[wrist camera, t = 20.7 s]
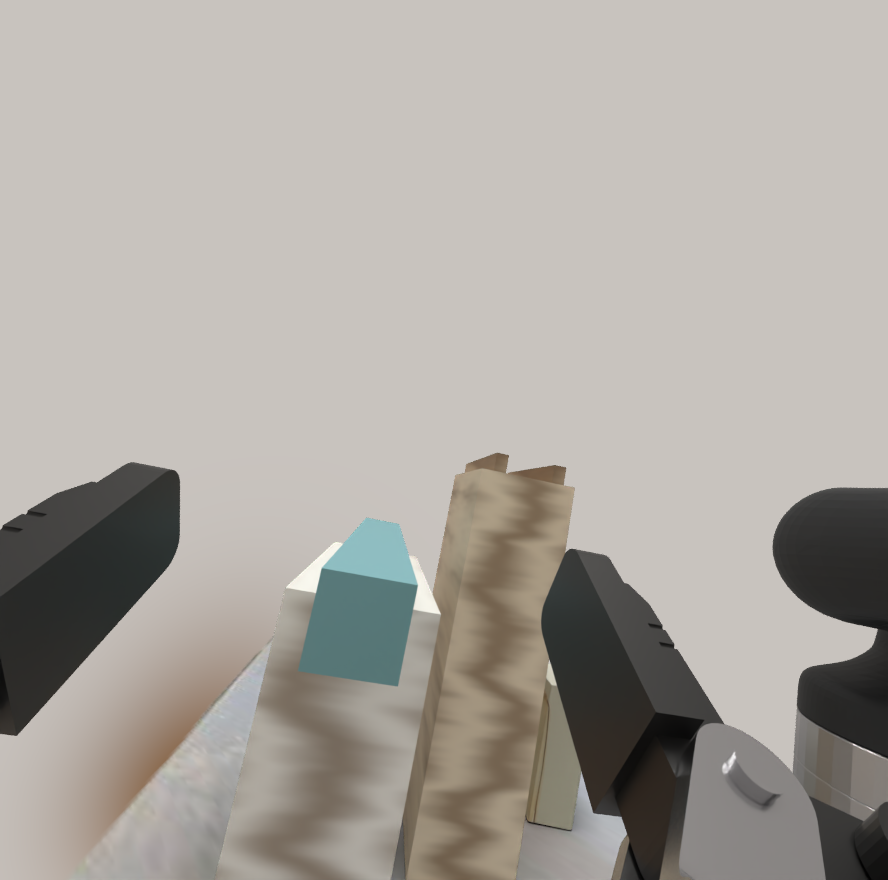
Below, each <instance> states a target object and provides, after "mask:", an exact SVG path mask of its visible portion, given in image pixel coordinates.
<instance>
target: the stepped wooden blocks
mask: <svg viewBox="0 0 888 880" xmlns="http://www.w3.org/2000/svg"><path fill="white" fill-rule="evenodd" d="M508 457H509V455H505V454H500V453H495V454H493V455H490V456H487V457H485V458H482V459H479V460H476V461H473V462H471V463H468V464H466V469H465V473H462V474H458V475H456V476H455V480H454V485H453V491H452V496H451V502H450V506H449V511H448V517H447V522H446V527H445V532H444V537H443V542H442V548H441V553H440V558H439V563H438V568H437V573H436V579H435V584H434V589H433V594H432V592H431V590H430V588H429V586H428V583H427V581H426V578H425V576H424V574H423V571H422V569H421V567H420V564H419V562H418V559H417V557H414V556H409V558H410V561H411V564H412V567H413V571H414V574H415V577H416V580H417V583H418V588H417V593H416V598H415V603H414V608H413V613H412V618H411V623H410V628H409V633H408V638H407V643H406V648H405V653H404V658H403V663H402V668H401V674H400V679H399V684H398V687H397V686H391V685H384V684H378V683H371V682H365V681H358V680H352V679H345V678H339V677H332V676H326V675H319V674H313V673H306V672H299V671H298V668H299V664H300V659H301V655H302V651H303V646H304V642H305V638H306V633H307V629H308V625H309V621H310V616H311V612H312V608H313V603H314V599H315V595H316V590H317V586H318V582H319V577H320V573H321V569H322V567H323V566H324V565H325V564H326V563H327V561H328V560H329V559H330V558H331V557H332V556H333V555H334V554H335V553H336V551H337V550H338V549H339V548H340V547H341V546H342V545H343V544H344V543H339V542H334V543H333V544H332V545H331V546H330V547H329V548H328V549H327V550H326V551H325V552H324V553H323V554H322V555H320V556H319V557H318V558H317V559H316V560H315V561H314V562H313V563H312V564H311V565H309V566H308V568H306V569H305V570H304V571H303V572H302V573H301V574H300V575H299V576H298V577H296V578H295V579H294V580H293V581H292V582H291V583H290V584H289V585H288V586H287V587H286V588H285V591H284V595H283V600H282V604H281V608H280V612H279V616H278V620H277V624H276V628H275V632H274V637H273V641H272V645H271V649H270V653H269V657H268V661H267V665H266V670H265V674H264V678H263V682H262V686H261V690H260V694H259V698H258V703H257V707H256V711H255V715H254V719H253V723H252V727H251V731H250V735H249V740H248V744H247V748H246V752H245V756H244V760H243V764H242V768H241V773H240V777H239V781H238V785H237V789H236V793H235V797H234V801H233V806H232V810H231V814H230V818H229V822H228V826H227V830H226V834H225V838H224V843H223V847H222V851H221V855H220V859H219V863H218V867H217V871H216V876H215V880H391V876H392V871H393V865H394V860H395V855H396V849H397V844H398V839H399V834H400V828H401V823H402V818H403V830H404V853H405V876H406V880H516V874H517V867H518V861H519V854H520V847H521V841H522V834H523V828H524V821H525V814H526V808H527V801H528V794H529V788H530V781H531V775H532V768H533V761H534V755H535V748H536V742H537V735H538V728H539V722H540V715H541V708H542V702H543V695H544V689H545V682H546V675H547V669H548V662H549V656H548V653H547V649H546V646H545V642H544V639H543V635H542V629H541V615H542V609H543V605H544V602H545V600H546V597H547V595H548V593H549V590H550V588H551V585H552V583H553V581H554V578H555V576H556V573H557V571H558V569H559V566H560V564H561V561H562V559H563V557H564V555H565V550H566V543H567V536H568V530H569V523H570V516H571V510H572V503H573V496H574V490H575V488H574V487H569V486H564V478H565V472H566V467H561V466H556V465H553V466H547V467H541V468H535V469H528V470H523V471H516V472H510V473H508V474H506V469H507V463H508Z"/></svg>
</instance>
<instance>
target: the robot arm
mask: <svg viewBox="0 0 888 880" xmlns="http://www.w3.org/2000/svg"><path fill="white" fill-rule="evenodd" d="M179 535H180V479H179V475H178V474H177V472H176V471H174V470H170V469H165V468H160V467H155V466H149V465H144V464H139V463H134V462H133V463H132V462H131V463H128V464H126V465H124V466H122V467H121V468H119V469H118V470H116V471H114V472H113V473H111V474H110V475H108V476H107V477H105V478H103V479H102V480H100V481H99V482H97V483H96V482H90V483H87V484H84V485H81V486H77V487H74V488H71V489H69V490H65V491H63V492H59V493H57V494H55V495H53V496H52V497H50V498H48V499H46V500H45V501H43V502H41V503H40V504H38V505H36V506H35V507H33V508H31V509H30V510H28V512H27V514H26V515H25V514H21V515H19V516H18V517H16V518H14V519H13V520H11V521H10V522H8V523H6V524H4V525H3V527H2V529H1V530H0V734H7V735H14V736H17V735H18V734H19V733H20V732H21V731H22V729H23V728H24V727H25V726H26V725H27V724H28V723H29V722H30V720H31V719H32V718H33V717H34V716H35V715H36V714H37V713H38V712H39V710H40V709H41V708H42V707H43V706H44V705H45V704H46V703H47V701H48V700H49V699H50V698H51V697H52V696H53V695H54V694H55V693H56V692H57V690H58V689H59V688H60V687H61V686H62V685H63V684H64V683H65V681H66V680H67V679H68V678H69V677H70V676H71V675H72V674H73V673H74V671H75V670H76V669H77V668H78V667H79V666H80V664H82V662H83V661H84V660H85V659H86V658H87V657H88V656H89V655H90V653H91V652H92V651H93V650H94V649H95V648H96V647H97V645H99V644H100V642H101V641H102V640H103V639H104V638H105V637H106V635H108V633H109V632H110V631H111V630H112V629H113V628H114V627H115V626H116V625H117V623H118V622H119V621H120V620H121V619H122V618H123V617H124V616H125V615H126V613H127V612H128V611H129V610H130V609H131V608H132V607H133V605H134V604H135V603H136V602H137V601H138V600H139V599H140V598H141V597H142V595H143V594H144V593H145V592H146V591H147V590H148V589H149V588H150V587H151V585H152V584H153V583H154V582H155V581H156V580H157V579H158V578H159V577H160V575H161V574H162V573H163V572H164V571H165V569H166V568H167V567H168V566H169V564H170V563H171V561H172V559H173V557H174V555H175V553H176V550H177V547H178V543H179ZM773 556H774V560H775V563H776V567H777V569H778V571H779V573H780V575H781V577H782V579H783V580H784V582H785V583H786V585H787V586H788V587H789V588H790V589H791V591H792V592H793V593H794V594H795V595H796V596H797V597H798V598H799V599H801V600H802V601H803V602H805V603H806V604H807V605H808V606H810V607H812V608H814V609H815V610H817V611H819V612H821V613H823V614H825V615H827V616H830V617H833V618H836V619H838V620H841V621H844V622H848V623H853V624H857V625H863V626H867V627H872V628H877V629H878V632H877V635H876V638H875V641H874V644H873V646H872V648H870V649H869V650H868V651H866V652H865V653H863V654H861V655H859V656H858V657H856V658H853V659H851V660H847V661H843V662H838V663H832V664H824V665H817V666H812V667H809V668H807V669H806V670H804V671H803V672H802V674H801V676H800V679H799V684H798V697H797V715H796V730H795V745H794V762H793V773H792V772H791V771H790V769H788V767H787V766H786V765H785V764H784V763H783V762H782V761H781V760H780V759H779V758H778V757H777V756H776V755H775V754H774V753H773V752H771V751H770V750H769V749H768V748H767V747H765V746H764V745H763V744H761V743H760V742H759V741H757V740H756V739H754V738H753V737H751V736H750V735H748V734H746V733H744V732H743V731H740V730H738V729H736V728H734V727H731V726H728V725H725V724H724V723H723V721H722V720H721V718H720V717H719V715H718V713H717V712H716V710H715V708H714V707H713V705H712V704H711V702H710V701H709V699H708V697H707V696H706V694H705V692H704V691H703V690H702V688H701V686H700V684H699V683H698V681H697V680H696V678H695V677H694V675H693V674H692V672H691V670H690V669H689V667H688V665H687V664H686V662H685V661H684V659H683V657H682V656H681V654H680V653H679V651H678V650H677V649H674V643H673V642H672V640H671V639H670V637H669V636H668V634H667V632H666V631H665V630H663V629H662V624H661V622H660V621H659V619H658V618H657V616H656V614H655V613H654V611H653V610H652V608H651V606H650V605H649V604H648V603H647V602H646V601H645V600H644V599H643V598H642V597H641V596H640V595H639V594H638V593H637V592H636V591H635V590H634V589H633V588H632V587H631V586H630V585H629V584H626V583H624V582H623V581H622V579H621V577H620V576H619V574H618V572H617V570H616V569H615V567H614V566H613V564H612V562H611V560H610V559H609V558H608V557H607V556H605V555H602V554H596V553H591V552H586V551H581V550H576V549H569V550H568V551H567V552H566V553H565V555H564V557H563V559H562V561H561V564H560V566H559V569H558V571H557V573H556V576H555V578H554V581H553V583H552V585H551V588H550V590H549V593H548V595H547V597H546V600H545V602H544V605H543V609H542V615H541V629H542V635H543V639H544V642H545V646H546V649H547V653H548V656H549V660H550V663H551V667H552V670H553V674H554V677H555V681H556V684H557V688H558V691H559V695H560V698H561V702H562V705H563V709H564V712H565V716H566V719H567V722H568V726H569V729H570V733H571V736H572V740H573V743H574V747H575V750H576V754H577V757H578V761H579V764H580V768H581V771H582V775H583V778H584V782H585V785H586V789H587V792H588V796H589V799H590V803H591V806H592V810H593V813H596V814H604V815H612V816H620V817H622V820H623V823H624V826H625V829H626V832H627V835H626V837H625V838H624V840H623V841H622V843H621V846H620V848H619V852H618V856H617V859H616V863H615V867H614V871H613V875H612V878H611V880H888V488H832V489H826V490H823V491H819V492H817V493H814V494H811V495H809V496H807V497H806V498H804V499H802V500H800V501H799V502H798V503H796V504H795V505H794V506H793V507H792V508H791V509H790V510H789V511H788V512H787V513H786V514H785V515H784V516H783V518H782V519H781V521H780V522H779V524H778V526H777V529H776V531H775V534H774V539H773Z"/></svg>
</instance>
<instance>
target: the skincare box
mask: <svg viewBox="0 0 888 880" xmlns="http://www.w3.org/2000/svg"><path fill="white" fill-rule="evenodd" d="M580 775H581V768H580V764H579V761H578V757H577V754H576V750H575V747H574V743H573V740H572V736H571V733H570V729H569V726H568V722H567V719H566V716H565V712H564V709H563V705H562V702H561V698H560V695H559V691H558V688H557V684H556V681H555V677H554V674H553V670H552V667H551V663H548V669H547V675H546V682H545V689H544V695H543V702H542V708H541V715H540V722H539V728H538V735H537V742H536V748H535V755H534V761H533V768H532V775H531V781H530V788H529V794H528V801H527V808H526V817H527V820H528V821H529V822H534V823H538V824H543V825H547V826H552V827H557V828H562V829H567V830H572V826H573V819H574V813H575V807H576V800H577V794H578V788H579V782H580Z"/></svg>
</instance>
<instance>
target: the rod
mask: <svg viewBox="0 0 888 880" xmlns="http://www.w3.org/2000/svg"><path fill="white" fill-rule="evenodd" d="M417 588H418V583H417V580H416V577H415V574H414V571H413V567H412V564H411V561H410V558H409V555H408V551H407V548H406V545H405V542H404V539H403V535H402V532H401V529H400V526H399V524H396V523H391V522H386V521H380V520H375V519H370V518H366V519H365V520H364V521H363V522H362V523H361V524H360V526H359V527H358V528H357V529H356V530H355V531H354V532H353V533H352V535H351V536H350V537H349V538H348V539H347V540H346V541H345V542H344V544H343V545H342V546H341V547H340V548H339V549H338V550H337V551H336V553H335V554H334V555H333V556H332V557H331V558H330V559H329V560H328V561H327V563H326V564H325V565H324V566H323V567H322V569H321V573H320V577H319V582H318V586H317V590H316V595H315V599H314V603H313V608H312V612H311V616H310V621H309V625H308V629H307V633H306V638H305V642H304V646H303V651H302V655H301V659H300V664H299V668H298V671H299V672H306V673H313V674H319V675H326V676H332V677H339V678H345V679H352V680H358V681H365V682H371V683H378V684H384V685H391V686H397V687H398V684H399V679H400V674H401V668H402V663H403V658H404V653H405V648H406V643H407V638H408V633H409V628H410V623H411V618H412V613H413V608H414V603H415V598H416V593H417Z"/></svg>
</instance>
